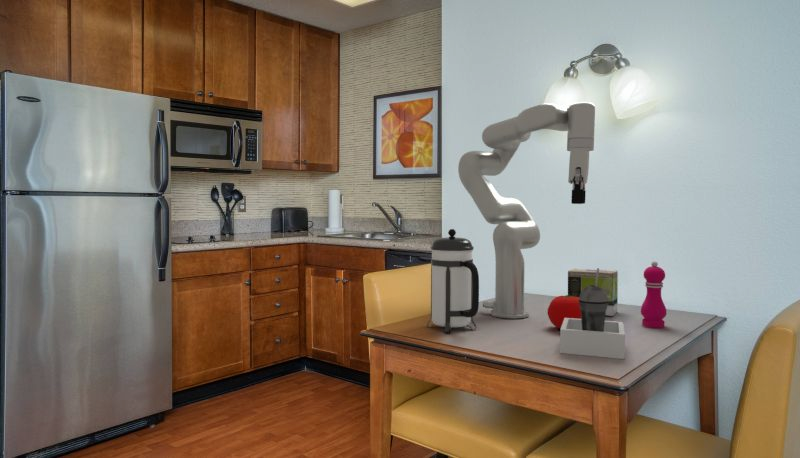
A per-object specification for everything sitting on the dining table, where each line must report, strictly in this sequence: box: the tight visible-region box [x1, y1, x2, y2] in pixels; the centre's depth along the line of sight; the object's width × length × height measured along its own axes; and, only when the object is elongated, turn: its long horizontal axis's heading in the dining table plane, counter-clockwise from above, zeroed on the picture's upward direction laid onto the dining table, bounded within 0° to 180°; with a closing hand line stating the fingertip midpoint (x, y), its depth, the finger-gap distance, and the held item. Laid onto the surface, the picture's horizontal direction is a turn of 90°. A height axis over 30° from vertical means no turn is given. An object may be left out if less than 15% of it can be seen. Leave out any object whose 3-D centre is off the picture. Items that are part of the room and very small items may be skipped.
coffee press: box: [426, 228, 480, 334], centre depth 161 cm, size 17×16×30 cm
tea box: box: [567, 268, 619, 317], centre depth 188 cm, size 15×10×15 cm
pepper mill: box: [640, 261, 668, 329], centre depth 166 cm, size 7×7×20 cm
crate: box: [559, 318, 626, 360], centre depth 140 cm, size 15×15×6 cm
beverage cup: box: [579, 268, 608, 332], centre depth 139 cm, size 7×7×20 cm
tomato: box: [547, 293, 581, 329], centre depth 162 cm, size 11×12×10 cm
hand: (578, 203), depth 160 cm, fingers open, 9 cm apart
